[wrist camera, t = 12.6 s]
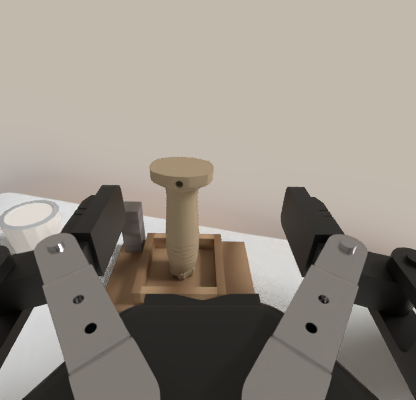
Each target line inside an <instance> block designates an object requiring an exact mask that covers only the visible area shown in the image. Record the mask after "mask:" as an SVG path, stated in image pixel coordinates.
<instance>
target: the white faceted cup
mask: <svg viewBox="0 0 416 400" xmlns="http://www.w3.org/2000/svg"><path fill="white" fill-rule="evenodd" d="M0 228H1V230H2V231H3V233H4V234H5V236H6V237H7V239H8V241H9V242H10V244H11V245H12V247H13V249H14V250H15V252H16V253H17V254H18V253H23V252H28V251H32V250H34V249H35V247H36V245H37V244H38V243H39V242H40V241H41V240H43V239H45V238H46V237H49V236H51V235H54V234H59V233H60V232H61V231H62V229H63V228H62V222H61V217H60V211H59V206H58V205H57V204H56V203H54V202H51V201H47V200H39V201H31V202H26V203H23V204H20V205H17V206H14V207H12V208H11V209H9V210H7V211H5V212H4V213H3V214H2V215H1V216H0Z"/></svg>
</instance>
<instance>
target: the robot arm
mask: <svg viewBox="0 0 416 400" xmlns="http://www.w3.org/2000/svg"><path fill="white" fill-rule="evenodd" d="M125 218H126V214H125V208H124V203H123V197H122V192H121V188H120V186H119V185H102V186H101V188H100V189H99V191H98V192H97V194H96V195H91V196H89V197H88V198H86V199H85V200H83V201H82V203H81V204H80V205H79V207H78V209H77V210H76V211H75V212H74V214H73V215H72V217H71V218H70V219H69V221H68V222H67V224H66V225H65V226H64V228H63V229H62V231H61V232H60V233H59V234H54V235H51V236H49V237H46V238H45V239H43V240H41V241H40V242H39V243H38V244H37V245H36V247H35V249H34V250H32V251H28V252H23V253H18V254H13V255H11V253H10V251H9V249H8V248H7V247H5V246H1V245H0V368H1V367H2V365H3V363H4V361H5V359H6V357H7V356H8V354H9V352H10V350H11V348H12V346H13V345H14V343H15V341H16V339H17V337H18V335H19V334H20V332H21V330H22V328H23V326H24V324H25V323H26V321H27V319H28V317H29V315H30V313H31V312H32V310H33V308H34V307H37V306H40V305H44V304H48V307H49V310H50V313H51V317H52V320H53V323H54V327H55V330H56V333H57V336H58V340H59V343H60V346H61V350H62V353H63V356H64V359H65V361H64V362H63V363H62V364H61V365H60V366H59V367H58V368H56V369H55V370H54V371H53V372H52V373H51V374H50V375H49V376H48V377H46V378H45V379H44V380H43V381H42V382H41V383H40V384H39V385H38V386H36V387H35V388H34V389H33V390H32V391H31V392H30V393H29V394H28V395H26V396H25V397H24V398H23V399H22V400H379V399H378V398H377V397H376V396H375V395H374V394H373V393H371V392H370V391H369V390H368V389H367V388H366V387H365V386H364V385H363V384H362V383H361V382H360V381H358V380H357V379H356V378H355V377H354V376H353V375H352V374H351V373H350V372H349V371H348V370H347V369H345V368H344V367H343V366H342V365H341V364H340V363H339V362H338V361H337V360H336V357H337V354H338V351H339V348H340V345H341V342H342V338H343V335H344V332H345V329H346V326H347V323H348V320H349V316H350V313H351V310H352V307H353V304H356V305H360V306H364V307H367V308H368V310H369V311H370V313H371V315H372V317H373V319H374V321H375V323H376V325H377V327H378V329H379V331H380V333H381V335H382V337H383V339H384V340H385V342H386V344H387V346H388V348H389V350H390V352H391V354H392V356H393V358H394V360H395V362H396V364H397V366H398V367H399V369H400V371H401V373H402V375H403V377H404V379H405V381H406V383H407V385H408V387H409V389H410V391H411V393H412V395H413V396H414V398H415V400H416V314H415V312H414V311H413V309H412V308H413V307H414V308H415V309H416V250H414V249H410V248H396V249H395V250H393V252H392V253H391V255H390V256H386V255H381V254H376V253H372V252H368V251H367V248H366V247H365V245H364V244H363V243H362V242H360V241H359V240H357V239H356V238H353V237H351V236H348V235H345V234H344V233H343V231H342V230H341V228H340V227H339V225H338V224H337V222H336V221H335V220H334V218H333V217H332V215H331V214H330V212H328V209H327V208H326V206H325V205H324V203H322V202H321V201H320V200H318V199H317V198H315V197H310V195H309V194H308V192H307V191H306V189H305V188H304V187H287V189H286V192H285V197H284V202H283V207H282V212H281V224H282V227H283V230H284V232H285V235H286V237H287V240H288V242H289V245H290V248H291V250H292V253H293V255H294V258H295V260H296V263H297V265H298V268H299V270H300V273H301V275H302V277H305V278H304V279H303V281H302V283H301V285H300V287H299V288H298V290H297V292H296V294H295V296H294V297H293V299H292V301H291V303H290V305H289V306H288V308H287V310H286V312H285V313H283V312H282V311H280V310H278V309H276V308H274V307H272V306H269V305H267V304H263V303H260V298H259V294H227V295H223V296H219V297H214V298H210V299H206V300H199V299H194V298H190V297H186V296H181V295H177V294H145V298H144V303H141V304H137V305H134V306H132V307H130V308H127V309H125V310H124V311H122V312H120V313H119V314H118V312H117V310H116V308H115V306H114V305H113V303H112V301H111V299H110V297H109V295H108V294H107V292H106V290H105V288H104V286H103V284H102V282H101V281H100V279H99V277H98V276H103V275H104V273H105V271H106V268H107V266H108V263H109V261H110V258H111V256H112V254H113V251H114V249H115V246H116V244H117V241H118V239H119V236H120V234H121V232H122V229H123V227H124V224H125Z"/></svg>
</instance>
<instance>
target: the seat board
mask: <svg viewBox="0 0 416 400" xmlns="http://www.w3.org/2000/svg"><path fill="white" fill-rule="evenodd" d="M123 203H124V208H125V214H126V218H125V224H124V227H123V229H122V235H123V241H124V243H123V245H122V248H121V251H120V253H119V256H118V258H117V261H116V264H115V266H114V269H113V271H112V274H111V277H110V279H109V282H108V285H107V287H106V292H107V294H108V295H109V297H110V299H111V301H112V303H113V305H114V306H115V308H116V310H117V312H118V314H119V313H120V312H122V311H124V310H125V309H127V308H130V307H132V306H134V305H137V304H141V303H144V298H145V294H177V295H181V296H186V297H190V298H194V299H199V300H206V299H210V298H214V297H219V296H223V295H227V294H255V293H254V288H253V283H252V278H251V273H250V268H249V264H248V259H247V254H246V249H245V244H244V242H221V234H199V249H198V256H197V261H196V264H195V272H194V275H193V276H190V277H187V278H185V279H184V280H180V279H179V278H178V277H176V276H173V275H172V274H171V272H170V264H169V260H168V256H167V249H166V233H148V234H147V238H146V239H145V230H144V222H143V213H142V204H141V202H123Z"/></svg>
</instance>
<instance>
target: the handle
mask: <svg viewBox="0 0 416 400" xmlns="http://www.w3.org/2000/svg"><path fill="white" fill-rule="evenodd" d="M150 177H151V180H152V181H153V182H154V183H156V184H158V185H160V186H163V187H165V188H166V194H167V207H166V249H167V256H168V260H169V264H170V272H171V274H172V275H173V276H176V277H178V278H179V279H180V280H184V279H185V278H187V277H190V276H193V275H194V272H195V264H196V261H197V256H198V249H199V224H198V196H197V194H198V189H199V188H201V187H204V186H206V185H208V184H209V183H211V181H212V178H213V165H212V164H211V163H210V162H208V161H204V160H201V159H196V158H187V157H170V158H161V159H157V160H155V161H153V162H152V163H151V165H150Z"/></svg>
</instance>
